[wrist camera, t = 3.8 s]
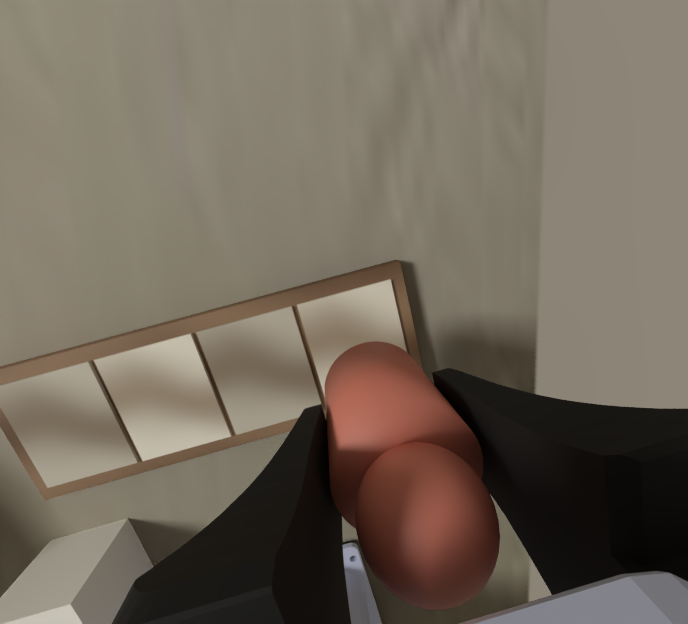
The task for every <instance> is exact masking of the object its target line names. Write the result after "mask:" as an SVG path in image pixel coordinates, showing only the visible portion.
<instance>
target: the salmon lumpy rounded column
mask: <svg viewBox="0 0 688 624" xmlns="http://www.w3.org/2000/svg"><path fill="white" fill-rule="evenodd" d="M325 406H326V423H327V440H328V457H329V474H330V489H331V494H332V498H333V501H334V503H335V506H336V507H337V509H338V511H339V512H340V514H341V515H342V516H343V518H344V519H345V520H346V521H347V522H348V523H349V524H350V525H352V526H353V527H354V528H356V530H357V535H358V540H359V544H360V547H361V549H362V552H363V555H364V557H365V559H366V561H367V563H368V565H369V566H370V568H371V570H372V571H373V573H374V574H375V576H376V577H377V578H378V579H379V581H380V582H381V583H382V584H383V585H384V586H385V587H386V588H387V589H388V590H389V591H390V592H392V593H393V594H394V595H395V596H397V597H399V598H400V599H402V600H403V601H405V602H407V603H409V604H411V605H414V606H417V607H420V608H424V609H429V610H444V609H450V608H454V607H457V606H460V605H462V604H464V603H466V602H468V601H469V600H471V599H472V598H473V597H474V596H476V595H477V594H478V593H479V592H480V591H481V590H482V589H483V588H484V586H485V585H486V583H487V582H488V580H489V578H490V576H491V574H492V573H493V570H494V568H495V565H496V561H497V557H498V553H499V541H500V533H499V522H498V518H497V513H496V509H495V506H494V503H493V501H492V498H491V496H490V494H489V491H488V489H487V488H486V486H485V484H484V483H483V481H482V475H483V455H482V451H481V447H480V445H479V442H478V440H477V438H476V436H475V435H474V433H473V432H472V430H471V429H470V428H469V427H468V425H467V424H466V423H465V422H464V421H463V419H462V418H461V417H460V416H459V414H458V413H457V412H456V411H455V410H454V408H453V407H452V406H451V405H450V403H449V402H448V401H447V400H446V399H445V397H444V396H443V395H442V394H441V392H440V391H439V390H438V389H437V388H436V386H435V385H434V384H433V383H432V381H431V380H430V379H429V378H428V377H427V375H426V374H425V373H424V372H423V370H422V369H421V368H420V367H419V366H418V364H417V363H416V362H415V361H414V359H413V358H412V357H411V356H410V355H409V354H408V353H407V352H406V351H405V350H403V349H402V348H400V347H398V346H396V345H394V344H390V343H387V342H379V341H373V342H365V343H361V344H358V345H355V346H353V347H351V348H349V349H348V350H346V351H345V352H343V353H342V354H341V355H340V356H339V357H338V358H337V359H336V360H335V361H334V363H333V364H332V366H331V367H330V369H329V371H328V374H327V377H326V381H325Z"/></svg>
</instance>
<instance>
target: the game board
mask: <svg viewBox="0 0 688 624" xmlns="http://www.w3.org/2000/svg"><path fill="white" fill-rule="evenodd" d="M373 341H379V342H387V343H390V344H394V345H396V346H398V347H400V348H402V349H403V350H405V351H406V352H407V353H408V354H409V355H410V356H411V357H412V358H413V359H414V361H415V362H416V363H417V364H418V366H419V367H420V368H421V369H422V370H423V366H422V362H421V357H420V352H419V348H418V343H417V338H416V334H415V329H414V324H413V319H412V315H411V310H410V305H409V301H408V296H407V291H406V287H405V282H404V277H403V273H402V268H401V263H400V261H398V260H393V261H390V262H386V263H382V264H378V265H375V266H371V267H367V268H364V269H360V270H356V271H353V272H349V273H345V274H342V275H338V276H334V277H330V278H327V279H323V280H319V281H316V282H312V283H308V284H305V285H301V286H297V287H293V288H290V289H286V290H282V291H279V292H275V293H271V294H268V295H264V296H260V297H257V298H253V299H249V300H245V301H242V302H238V303H234V304H231V305H227V306H223V307H220V308H216V309H212V310H208V311H205V312H201V313H197V314H194V315H190V316H186V317H183V318H179V319H175V320H172V321H168V322H164V323H160V324H157V325H153V326H149V327H146V328H142V329H138V330H135V331H131V332H127V333H123V334H120V335H116V336H112V337H109V338H105V339H101V340H98V341H94V342H90V343H87V344H83V345H79V346H75V347H72V348H68V349H64V350H61V351H57V352H53V353H50V354H46V355H42V356H38V357H35V358H31V359H27V360H24V361H20V362H16V363H13V364H9V365H5V366H1V367H0V427H1V428H2V430H3V432H4V434H5V435H6V437H7V439H8V440H9V442H10V444H11V445H12V447H13V449H14V450H15V452H16V454H17V455H18V457H19V459H20V460H21V462H22V464H23V465H24V467H25V469H26V470H27V472H28V474H29V475H30V477H31V479H32V480H33V482H34V484H35V485H36V487H37V489H38V490H39V492H40V494H41V495H42V497H43V499H44V500H46V499H50V498H54V497H57V496H61V495H64V494H68V493H71V492H75V491H78V490H82V489H85V488H89V487H93V486H96V485H100V484H103V483H107V482H110V481H114V480H117V479H121V478H124V477H128V476H132V475H135V474H139V473H142V472H146V471H149V470H153V469H156V468H160V467H163V466H167V465H171V464H174V463H178V462H181V461H185V460H188V459H192V458H195V457H199V456H202V455H206V454H210V453H213V452H217V451H220V450H224V449H227V448H231V447H234V446H238V445H241V444H245V443H249V442H252V441H256V440H259V439H263V438H266V437H270V436H273V435H277V434H280V433H284V432H288V431H291V430H292V428H293V427H294V425H295V423H296V422H297V420H298V418H299V417H300V415H301V413H302V412H303V410H304V409H305V408H308V407H312V406H315V405H319V404H321V405H322V408H323V411H324V414H325V418H326V406H325V381H326V377H327V374H328V371H329V369H330V367H331V366H332V364H333V363H334V361H335V360H336V359H337V358H338V357H339V356H340V355H341V354H342V353H343V352H345V351H346V350H348V349H349V348H351V347H353V346H355V345H358V344H361V343H365V342H373ZM423 372H424V371H423Z"/></svg>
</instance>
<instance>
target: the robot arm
mask: <svg viewBox="0 0 688 624" xmlns="http://www.w3.org/2000/svg"><path fill="white" fill-rule="evenodd" d="M432 375H433V379H434V384H435V386H436V388H437V389H438V390H439V391H440V392H441V394H442V395H443V396H444V397H445V399H446V400H447V401H448V402H449V403H450V405H451V406H452V407H453V408H454V410H455V411H456V412H457V413H458V414H459V416H460V417H461V418H462V419H463V421H464V422H465V423H466V424H467V425H468V427H469V428H470V429H471V430H472V432H473V433H474V435H475V436H476V438H477V440H478V442H479V445H480V447H481V451H482V455H483V475H482V481H483V483H484V484H485V486H486V488H487V489H488V491H489V493H490V494H491V496H492V497H493V498H494V500H495V501H496V502H497V504H498V505H499V507H500V508H501V510H502V511H503V513H504V514H505V516H506V517H507V519H508V521H509V522H510V524H511V526H512V527H513V529H514V531H515V532H516V534H517V536H518V537H519V539H520V541H521V542H522V544H523V546H524V547H525V549H526V551H527V552H528V554H529V556H530V557H531V559H532V561H533V563H534V564H535V566H536V567H537V569H538V571H539V573H540V575H541V576H542V578H543V580H544V581H545V583H546V585H547V586H548V588H549V590H550V592H551V594H552V595H551V596H548V597H545V598H541V599H538V600H535V601H531V602H528V603H525V604H522V605H518V606H515V607H512V608H508V609H505V610H502V611H499V612H495V613H492V614H489V615H485V616H482V617H479V618H475V619H472V620H469V621H466V622H462V623H459V624H688V409H653V408H635V407H618V406H607V405H597V404H589V403H581V402H573V401H567V400H561V399H556V398H550V397H546V396H540V395H536V394H531V393H527V392H523V391H520V390H516V389H512V388H509V387H505V386H502V385H499V384H496V383H493V382H489V381H486V380H484V379H481V378H478V377H475V376H472V375H469V374H466V373H463V372H461V371H458V370H454V369H451V368H447V369H443V370H440V371H436V372H433V373H432ZM112 624H382V621H381V618H380V615H379V611H378V608H377V605H376V602H375V599H374V595H373V592H372V589H371V586H370V583H369V580H368V576H367V573H366V570H365V567H364V564H363V561H362V557H361V554H360V551H359V548H358V546H357V544H355V543H347V544H344V545H343V542H342V515H341V514H340V512H339V511H338V509H337V507H336V506H335V503H334V501H333V498H332V494H331V489H330V474H329V457H328V440H327V423H326V418H325V414H324V411H323V408H322V405H321V404H319V405H315V406H312V407H308V408H305V409H304V410H303V412H302V413H301V415H300V417H299V418H298V420H297V422H296V423H295V425H294V427H293V428H292V430H291V432H290V433H289V435H288V436H287V438H286V440H285V441H284V443H283V444H282V446H281V447H280V448H279V450H278V451H277V452H276V454H275V455H274V457H273V458H272V459H271V461H270V462H269V464H268V465H267V466H266V467H265V469H264V470H263V471H262V472H261V473H260V475H259V476H258V477H257V478H256V479H255V480H254V481H253V483H252V484H251V485H250V486H249V487H248V488H247V489H246V490H245V491H244V492H243V493H242V494H241V495H240V496H239V497H238V498H237V499H236V500H235V501H234V502H233V503H232V504H231V505H230V506H229V507H228V508H227V509H226V510H225V511H224V512H223V513H222V514H220V515H219V516H218V517H217V518H216V519H215V520H214V521H212V522H211V523H210V524H209V525H208V526H207V527H206V528H204V529H203V530H202V531H201V532H199V533H198V534H197V535H196V536H194V537H193V538H192V539H191V540H190V541H188V542H187V543H186V544H184V545H183V546H182V547H180V548H179V549H178V550H176V551H175V552H174V553H172V554H171V555H169V556H168V557H167V558H165V559H164V560H162V561H161V562H160V563H158V564H157V565H155V566H154V567H153V568H151V569H150V570H149V571H147V572H146V573H144V574H143V575H141V576H140V577H138V578H137V579H136V580H135V581H134V583H133V585H132V587H131V588H130V590H129V592H128V594H127V596H126V598H125V600H124V602H123V603H122V605H121V607H120V609H119V611H118V613H117V615H116V617H115V618H114V620H113V622H112Z"/></svg>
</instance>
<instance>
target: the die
mask: <svg viewBox="0 0 688 624" xmlns="http://www.w3.org/2000/svg"><path fill="white" fill-rule="evenodd" d="M151 568H153V565H152V563H151V561H150V559H149V557H148V555H147V553H146V552H145V550H144V548H143V546H142V544H141V542H140V540H139V538H138V536H137V534H136V533H135V531H134V529H133V527H132V525H131V523H130V521H129V519H128V518H127V519H123V520H120V521H116V522H113V523H109V524H106V525H102V526H99V527H95V528H92V529H88V530H85V531H81V532H78V533H74V534H71V535H67V536H64V537H60V538H57V539H53V540H50V542H49V543H48V544H47V545H46V546H45V547H44V548H43V550H42V551H41V552H40V553H39V554H38V555H37V556H36V558H35V559H34V560H33V561H32V562H31V563H30V564H29V566H28V567H27V568H26V569H25V570H24V571H23V572H22V574H21V575H20V576H19V577H18V578H17V579H16V580H15V582H14V583H13V584H12V585H11V586H10V587H9V588H8V589H7V591H6V592H5V593H4V594H3V595H2V596H1V597H0V624H112V622H113V620H114V618H115V617H116V615H117V613H118V611H119V609H120V607H121V605H122V603H123V602H124V600H125V598H126V596H127V594H128V592H129V590H130V588H131V587H132V585H133V583H134V581H135V580H136V579H137V578H138V577H140V576H141V575H143V574H144V573H146V572H147V571H149V570H150V569H151Z"/></svg>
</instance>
